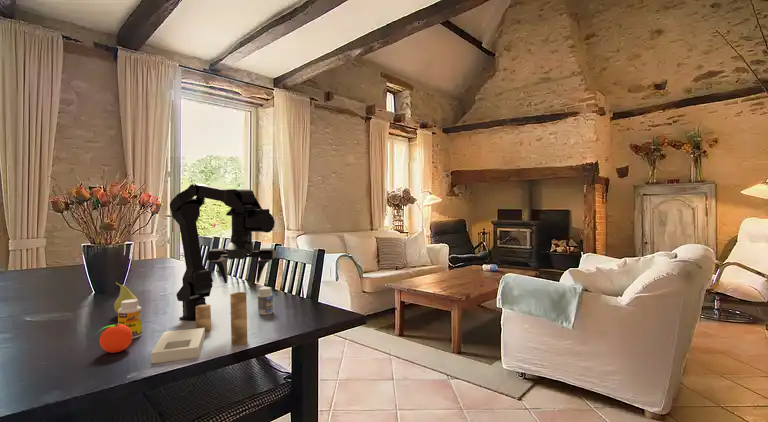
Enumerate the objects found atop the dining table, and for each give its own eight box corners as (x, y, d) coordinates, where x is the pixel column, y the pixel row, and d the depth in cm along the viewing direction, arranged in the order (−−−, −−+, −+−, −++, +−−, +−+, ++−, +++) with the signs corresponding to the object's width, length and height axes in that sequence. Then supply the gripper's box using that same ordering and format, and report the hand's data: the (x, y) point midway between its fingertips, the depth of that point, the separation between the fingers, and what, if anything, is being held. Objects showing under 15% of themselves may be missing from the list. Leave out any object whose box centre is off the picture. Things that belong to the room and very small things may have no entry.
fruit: (143, 312, 137) (141, 277, 137) (126, 318, 130) (125, 282, 129) (124, 312, 138) (123, 277, 138) (107, 318, 130) (106, 282, 130)
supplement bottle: (115, 341, 108) (113, 303, 108) (123, 334, 114) (122, 299, 114) (137, 339, 110) (136, 302, 109) (145, 333, 115) (144, 297, 115)
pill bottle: (268, 315, 131) (268, 289, 131) (255, 314, 132) (255, 289, 132) (275, 311, 136) (274, 286, 136) (262, 310, 137) (262, 286, 137)
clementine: (91, 359, 96) (90, 330, 96) (98, 350, 102) (97, 322, 102) (130, 354, 99) (129, 325, 99) (135, 345, 105) (134, 318, 105)
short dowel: (193, 331, 116) (192, 307, 116) (202, 327, 120) (202, 304, 119) (204, 332, 115) (204, 308, 114) (214, 328, 118) (213, 304, 118)
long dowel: (228, 344, 105) (226, 295, 104) (237, 339, 108) (236, 291, 108) (241, 345, 103) (240, 296, 103) (250, 340, 107) (249, 292, 107)
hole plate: (164, 341, 108) (164, 331, 108) (204, 336, 111) (204, 327, 111) (151, 363, 93) (151, 352, 93) (198, 357, 96) (198, 347, 96)
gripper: (200, 233, 110) (200, 289, 111) (269, 233, 113) (269, 288, 113) (212, 230, 121) (212, 281, 122) (275, 230, 124) (275, 280, 124)
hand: (242, 282), depth 120 cm, fingers open, 9 cm apart
